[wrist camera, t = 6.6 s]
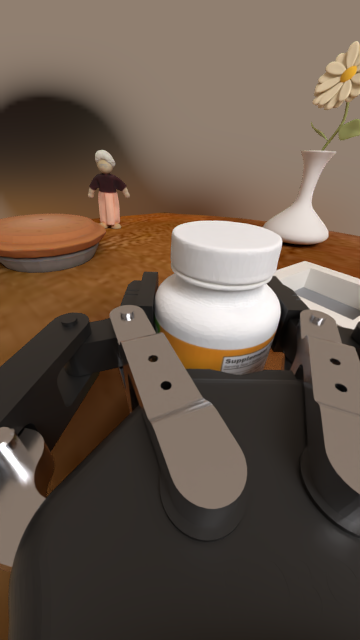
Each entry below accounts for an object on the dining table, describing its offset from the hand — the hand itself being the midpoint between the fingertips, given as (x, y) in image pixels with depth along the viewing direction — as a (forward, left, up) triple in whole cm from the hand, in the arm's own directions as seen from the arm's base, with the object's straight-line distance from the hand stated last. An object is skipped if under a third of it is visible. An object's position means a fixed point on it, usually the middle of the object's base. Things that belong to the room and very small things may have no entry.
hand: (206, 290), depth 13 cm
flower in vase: (-15, +36, -6) cm, 39 cm away
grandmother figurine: (-40, +11, -6) cm, 42 cm away
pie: (-28, -3, -6) cm, 29 cm away
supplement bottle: (+2, -1, -6) cm, 7 cm away
